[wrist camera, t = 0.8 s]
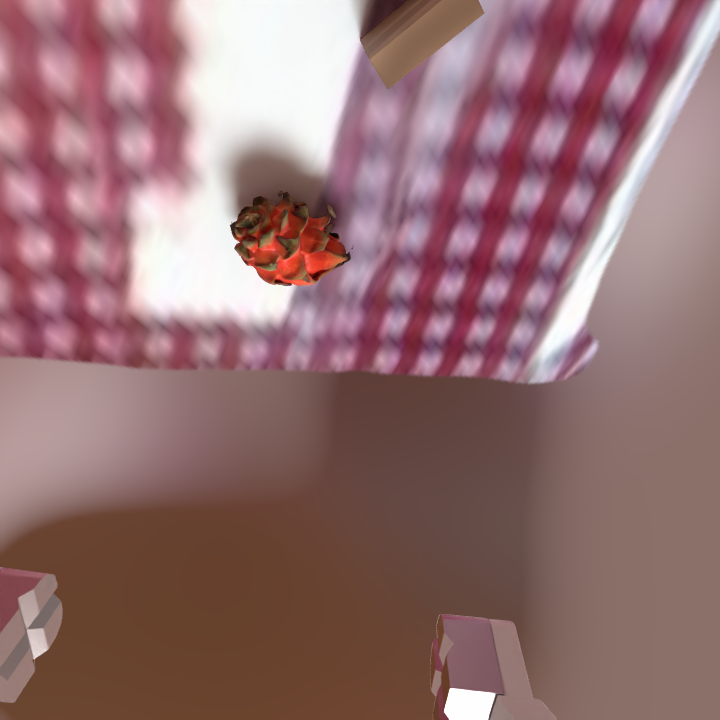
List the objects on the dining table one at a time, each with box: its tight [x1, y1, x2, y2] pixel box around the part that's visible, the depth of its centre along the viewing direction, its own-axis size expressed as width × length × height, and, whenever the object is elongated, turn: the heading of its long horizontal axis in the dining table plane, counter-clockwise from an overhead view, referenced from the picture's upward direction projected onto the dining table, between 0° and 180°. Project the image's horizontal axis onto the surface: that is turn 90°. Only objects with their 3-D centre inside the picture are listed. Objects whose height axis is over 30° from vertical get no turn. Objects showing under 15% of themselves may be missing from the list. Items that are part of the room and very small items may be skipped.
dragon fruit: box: [230, 191, 354, 286], centre depth 51 cm, size 8×8×12 cm
